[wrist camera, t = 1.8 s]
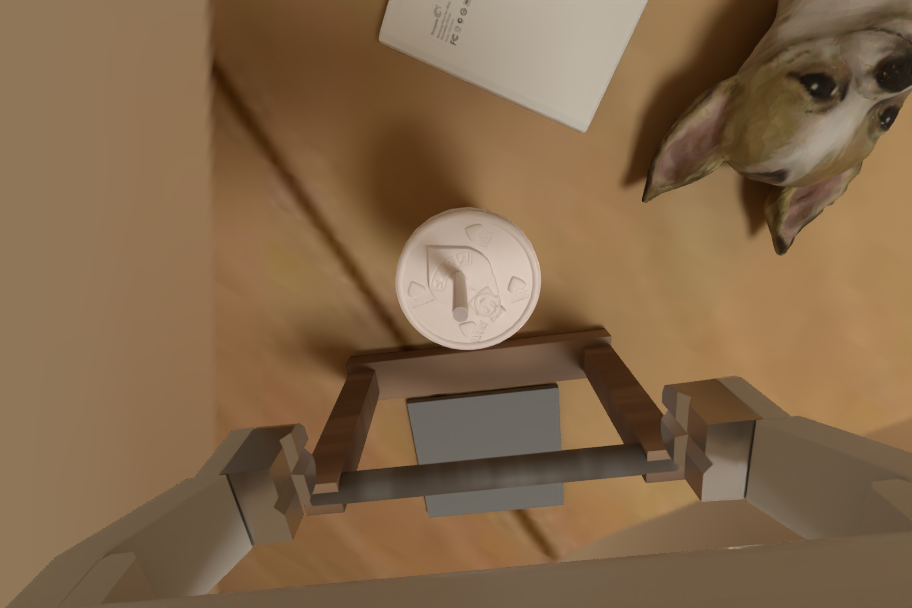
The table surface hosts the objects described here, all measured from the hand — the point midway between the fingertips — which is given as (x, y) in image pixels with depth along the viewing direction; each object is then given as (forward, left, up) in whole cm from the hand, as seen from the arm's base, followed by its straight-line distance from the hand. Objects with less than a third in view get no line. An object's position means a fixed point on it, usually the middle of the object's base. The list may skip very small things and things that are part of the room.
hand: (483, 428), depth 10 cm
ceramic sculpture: (-6, +18, -20) cm, 27 cm away
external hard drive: (-12, +4, -20) cm, 24 cm away
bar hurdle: (+9, 0, -19) cm, 21 cm away
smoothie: (0, 0, -19) cm, 19 cm away
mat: (+17, 0, -19) cm, 25 cm away
